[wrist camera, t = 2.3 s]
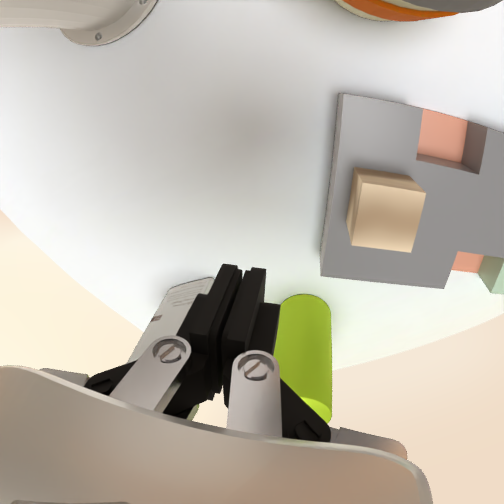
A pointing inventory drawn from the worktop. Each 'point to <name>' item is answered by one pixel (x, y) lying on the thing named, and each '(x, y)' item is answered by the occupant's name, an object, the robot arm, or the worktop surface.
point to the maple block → (384, 210)
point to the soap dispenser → (306, 351)
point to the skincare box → (171, 313)
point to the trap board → (431, 181)
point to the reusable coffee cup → (412, 8)
